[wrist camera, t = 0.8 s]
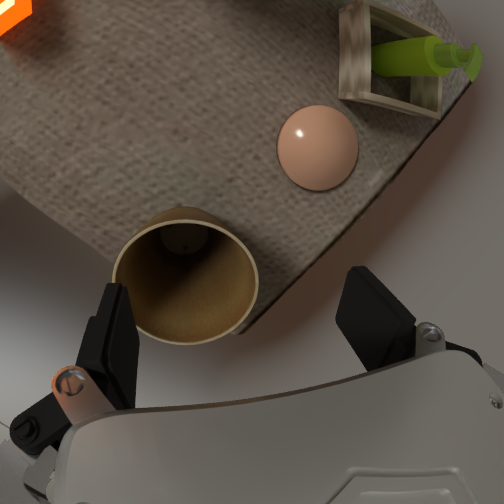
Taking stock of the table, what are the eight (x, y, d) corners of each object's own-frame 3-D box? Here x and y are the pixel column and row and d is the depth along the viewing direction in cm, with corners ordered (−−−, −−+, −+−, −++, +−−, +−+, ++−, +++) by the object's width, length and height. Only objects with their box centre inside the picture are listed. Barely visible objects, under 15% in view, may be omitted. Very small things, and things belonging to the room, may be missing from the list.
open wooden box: (338, 9, 29) (362, -3, 23) (413, 37, 32) (440, 33, 26) (338, 98, 36) (364, 98, 30) (412, 115, 40) (440, 119, 33)
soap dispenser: (359, 66, 34) (458, 58, 17) (375, 38, 32) (470, 23, 15) (385, 88, 36) (483, 95, 19) (399, 60, 34) (493, 59, 17)
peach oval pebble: (278, 101, 35) (280, 101, 34) (356, 111, 38) (361, 111, 37) (274, 188, 41) (277, 191, 40) (349, 188, 44) (353, 190, 43)
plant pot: (249, 245, 45) (280, 308, 31) (169, 287, 45) (167, 361, 31) (205, 161, 37) (216, 190, 23) (116, 213, 37) (83, 269, 24)
